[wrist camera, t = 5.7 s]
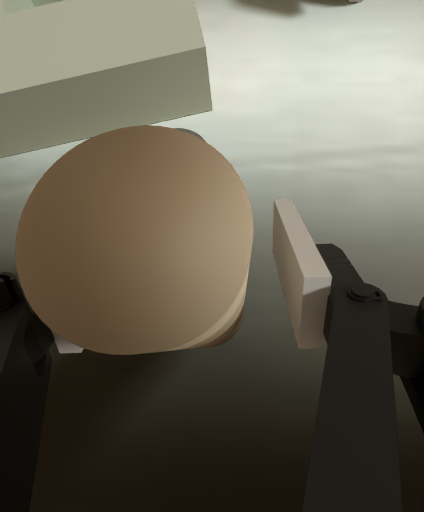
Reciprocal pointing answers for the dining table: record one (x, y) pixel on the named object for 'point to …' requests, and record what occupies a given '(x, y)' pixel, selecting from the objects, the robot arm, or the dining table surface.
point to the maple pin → (137, 243)
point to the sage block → (96, 68)
